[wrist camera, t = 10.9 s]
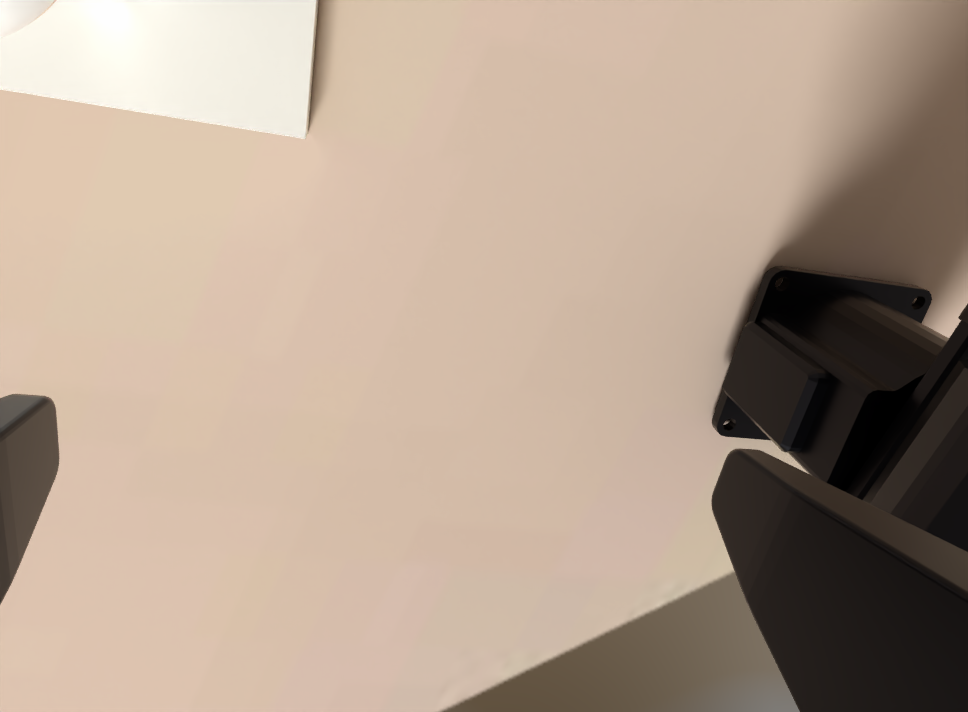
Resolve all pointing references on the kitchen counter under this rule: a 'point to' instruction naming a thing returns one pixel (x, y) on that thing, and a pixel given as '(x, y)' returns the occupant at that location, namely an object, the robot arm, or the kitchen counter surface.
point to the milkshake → (47, 11)
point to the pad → (177, 61)
